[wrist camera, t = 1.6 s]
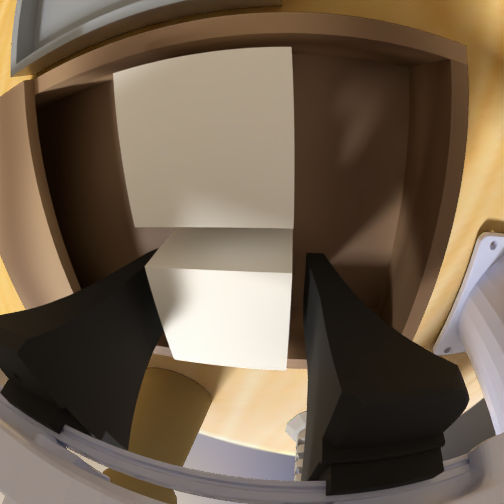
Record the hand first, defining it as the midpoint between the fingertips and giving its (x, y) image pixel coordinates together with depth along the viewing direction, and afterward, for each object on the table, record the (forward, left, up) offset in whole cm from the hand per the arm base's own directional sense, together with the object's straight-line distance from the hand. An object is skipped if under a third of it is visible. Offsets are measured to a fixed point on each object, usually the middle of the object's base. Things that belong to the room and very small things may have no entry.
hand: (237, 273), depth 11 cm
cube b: (0, -5, -1) cm, 5 cm away
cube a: (0, 0, -1) cm, 1 cm away
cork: (+6, +12, -2) cm, 14 cm away
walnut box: (+2, -3, -2) cm, 4 cm away
